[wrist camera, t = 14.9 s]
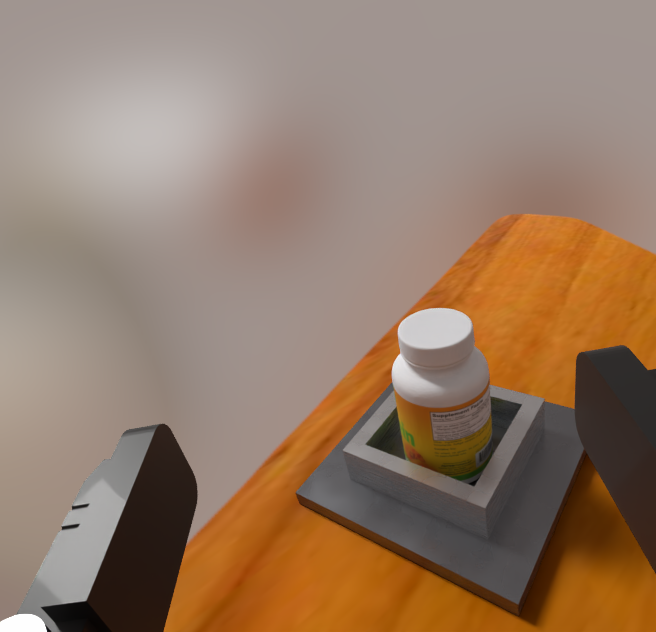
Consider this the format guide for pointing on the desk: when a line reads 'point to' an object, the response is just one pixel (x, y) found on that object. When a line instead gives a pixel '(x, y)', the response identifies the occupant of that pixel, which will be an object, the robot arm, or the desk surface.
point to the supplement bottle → (443, 394)
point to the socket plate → (457, 495)
